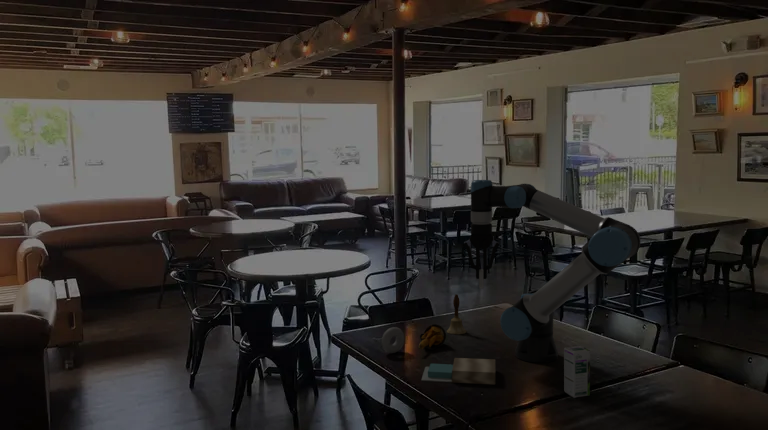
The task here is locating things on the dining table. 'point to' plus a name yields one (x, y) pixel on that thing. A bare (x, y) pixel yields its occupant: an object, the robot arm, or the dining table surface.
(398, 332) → the donut
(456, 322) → the hand bell
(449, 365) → the teal block
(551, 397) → the dining table surface
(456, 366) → the serving board
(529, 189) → the robot arm
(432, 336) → the fried shrimp in bowl
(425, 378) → the mat
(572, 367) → the syrup box
